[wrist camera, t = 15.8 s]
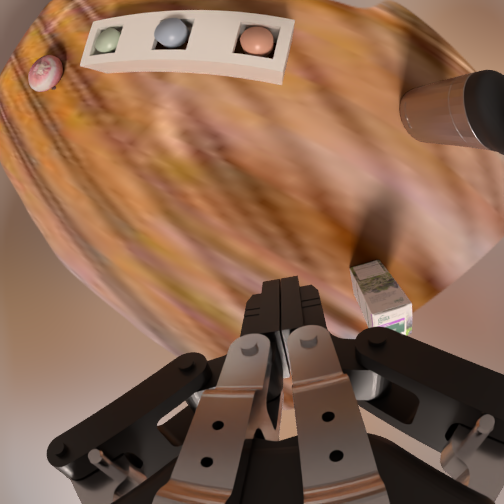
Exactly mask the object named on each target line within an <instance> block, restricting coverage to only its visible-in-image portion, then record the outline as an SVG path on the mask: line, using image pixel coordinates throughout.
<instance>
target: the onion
mask: <svg viewBox="0 0 504 504" xmlns="http://www.w3.org/2000/svg"><path fill="white" fill-rule="evenodd" d="M62 64H63V63H61V61H60V59H59V58H57V57H55V56H52V55H46V56H43V57H41V58H40V59H38V60H37V61H36V62H35V63H34V64H33V65H32V67H31V69H30V72H29V84H30V86H31V88H32V89H34V90H35V91H38V92H43V91H47V90H49V89H51V88H52V89H56V87H55V85H56V84H57V83H58V82H59V80H60V79H61V76H62V73H63V66H62Z"/></svg>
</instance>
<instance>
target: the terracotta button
mask: <svg viewBox="0 0 504 504" xmlns="http://www.w3.org/2000/svg"><path fill="white" fill-rule="evenodd" d="M240 42H241V45H242V48H243V50H244V52H245V53H246V54H247V55H252V56H259V57H266V56H268V55H269V54H270V53H271V52H272V50H273V36H272V34H271V32H270V31H269V30H267V29H266V28H263V27H258V26H257V27H251V28H248V29H246V30H245V31H244V32H243V33H242V35H241V37H240Z"/></svg>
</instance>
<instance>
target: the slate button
mask: <svg viewBox="0 0 504 504" xmlns="http://www.w3.org/2000/svg"><path fill="white" fill-rule="evenodd" d="M189 34H190V32H189V29H188V28H187V26H186V25H185V24H184V23H183V22H182V21H181V20H180V19H178V18H168V19H166V20H164V21H162V22H161V23H160V24H159V25H158V26H157V27H156V29H155V32H154V37H155V39H156V40H157V41H158V42H160V43H161V44H162V45H164V46H165V47H167V48H177V47H180V46H181V45H183V44H184V43H185V42H186V41H187V40H188V38H189Z"/></svg>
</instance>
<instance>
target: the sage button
mask: <svg viewBox="0 0 504 504" xmlns="http://www.w3.org/2000/svg"><path fill="white" fill-rule="evenodd" d="M120 34H121V32H119V31H117V30H115V29H113V28H109V29H106V30H104V31H103V32H102V33H100V35H99V36H98V37H97V39H96V42H95V47H96V49H97V50H98V51H100V52H103V53H106V54H107V53H115V51H116V47H117V44H118V41H119V37H120Z"/></svg>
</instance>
